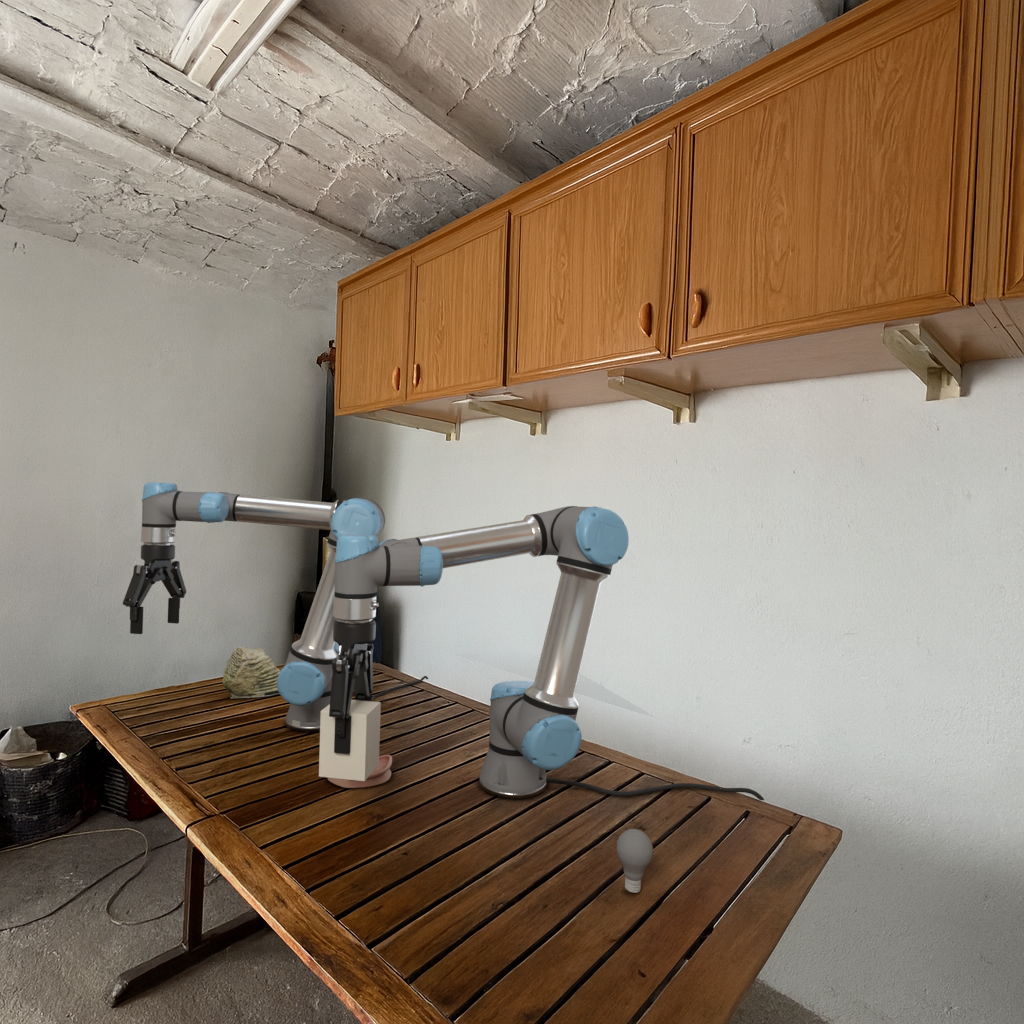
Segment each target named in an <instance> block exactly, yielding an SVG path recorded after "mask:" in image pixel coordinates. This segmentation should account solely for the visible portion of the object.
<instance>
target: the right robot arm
mask: <svg viewBox="0 0 1024 1024" xmlns="http://www.w3.org/2000/svg"><path fill="white" fill-rule="evenodd" d="M629 541H630V536H629V531H628V527H627V525H626V524H625V522H624V520H623V518H622V517H621V516H620V515H619V514H618V513H616V512H615V511H613V510H611V509H608V508H604V507H601V506H599V507H598V506H577V505H568V506H563V507H558V508H554V509H551V510H546V511H542V512H537V513H532V514H527V515H525V517H524V518H523V519H522V520H516V521H510V522H504V523H499V524H498V523H496V524H492V525H484V526H479V527H471V528H466V529H459V530H453V531H447V532H440V533H433V534H426V535H422V536H416V537H409V538H402V539H398V538H397V539H396V538H391V539H386V540H383V541H382V542H380V541H379V536H378V537H377V536H375V535H363V534H346V535H342V536H340V537H339V538H338V540H337V547H336V558H335V596H334V612H333V616H334V618H335V619H337V620H335V622H334V623H333V640H334V641H335V642H336V643H338V644H339V645H340V646H341V647H340V650H339V659H333V661H332V673H333V674H332V686H331V698H330V710H329V716H330V717H335V738H334V753H341V754H349V753H350V747H351V716H349V712H350V706H351V700H353V693H354V700H361V701H374V698H373V696H374V695H373V693H374V672H373V671H374V668H373V666H374V664H373V661H374V659H373V656H374V644H373V642H374V641H375V640H376V635H377V633H376V631H377V629H376V628H377V621H375V618H376V617H377V608H378V607H380V606H379V602H377V596H378V587H425V586H435V585H438V584H439V583H440V581H441V579H442V576H443V572H444V569H448V568H455V567H460V566H464V565H465V566H466V565H471V564H477V563H483V562H489V561H494V560H498V559H499V560H500V559H504V558H505V559H506V558H511V557H516V556H523V555H529V556H531V557H533V558H536V557H541V556H555V557H557V558H556V561H555V562H556V563H555V564H556V566H557V568H558V569H559V571H560V576H559V580H558V585H557V588H556V592H555V596H554V599H553V600H554V601H553V603H552V608H551V612H550V617H549V619H548V620H549V621H548V625H547V629H546V633H545V637H544V641H543V645H542V649H541V654H540V658H539V660H538V661H539V662H538V666H537V670H536V674H535V678H534V681H532V680H531V681H529V680H507V681H501V682H498V683H495V684H493V686H492V688H491V692H490V693H491V694H490V698H489V701H490V707H489V708H490V710H489V733H488V734H489V735H488V738H489V739H488V750H487V753H486V755H485V758H484V761H483V763H482V767H481V769H480V772H479V779H478V780H479V782H478V783H479V786H480V788H481V789H482V790H483V792H486V793H487V794H490V795H492V796H495V797H498V798H503V799H508V800H509V799H511V800H524V799H530V798H534V797H536V796H539V795H540V794H541V795H542V793H544V792H545V790H546V789H547V783H549V784H556V785H564V786H570V787H577V788H583V789H588V790H592V791H595V792H597V793H601V794H604V795H610V796H616V797H634V796H638V795H639V796H640V795H644V794H648V793H654V792H655V793H657V792H661V791H667V790H671V789H672V790H673V789H681V788H682V789H684V788H685V789H690V788H691V789H700V790H701V789H702V790H708V791H712V792H713V791H714V792H722V793H744V794H750V795H752V796H753V797H756V799H758V800H759V801H765V799H764V797H763V796H762V795H761V794H760V793H759V792H758V791H756V790H754V789H751V788H749V787H748V788H747V787H723V786H715V785H708V784H702V783H693V782H691V783H690V782H679V783H670V784H669V783H668V784H663V785H659V786H651V787H646V788H641V789H636V790H627V791H620V790H612V789H607V788H605V787H600V786H596V785H593V784H589V783H584V782H579V781H573V780H567V779H559V778H552V777H547V773H546V771H556V770H559V769H561V768H563V767H565V766H566V765H567V764H569V763H570V762H571V761H573V759H574V758H575V757H576V755H577V754H578V752H579V750H580V748H581V744H582V736H583V735H582V731H581V729H580V726H579V724H578V722H577V715H578V712H579V707H580V704H579V702H578V700H577V699H576V697H575V693H576V688H577V683H578V680H579V675H580V670H581V666H582V662H583V659H584V654H585V650H586V646H587V642H588V639H589V634H590V630H591V626H592V622H593V617H594V613H595V608H596V604H597V601H598V596H599V593H600V590H601V589H600V588H601V584H602V583H603V582H604V581H606V580H608V579H609V578H610V577H611V574H612V570H613V566H614V565H616V564H618V562H619V561H621V560H622V559H623V558H624V556H625V555H626V553H627V551H628V547H629V543H630V542H629ZM720 788H721V789H720Z"/></svg>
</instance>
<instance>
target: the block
mask: <svg viewBox="0 0 1024 1024" xmlns="http://www.w3.org/2000/svg"><path fill="white" fill-rule="evenodd" d="M381 706H382V702H381V701H374V700H372V701H361V700H356V699H352V700H351V706H350V712H349V716H351V747H350V753H349V754H341V753H334V738H335V717H330V716H329V710H330V704H329V705H328V706H327V707H325V708H324V709H323V710H321V717H320V731H319V754H318V755H319V757H318V777H321V778H327V779H328V778H338V779H348V780H357V781H365V780H366V779H367V778H368V777H369V775H370V774H371V773H372V772H373V771H374V770H375V768H376V767H377V766H378V765H379V756H380V745H381V744H380V743H381V742H380V741H381V737H380V736H381V713H382V711H381V708H382V707H381Z"/></svg>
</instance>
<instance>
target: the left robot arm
mask: <svg viewBox="0 0 1024 1024" xmlns="http://www.w3.org/2000/svg"><path fill="white" fill-rule="evenodd" d="M141 502H142V503H141V505H142V506H141V530H140V531H141V533H140V542H141V543H143V544H141V546H140V559H141V560H143V565H141V564H135V565H133V570H132V571H133V572H132V577H131V579H130V582H129V585H128V587H127V590H126V592H125V595H124V598H123V600H122V605H123V606H125V607H128V608H129V621H130V623H129V624H130V625H129V634H132V635H143V631H144V630H143V629H144V627H143V626H144V606H142V604H143V603H144V600H145V599H146V597H147V596H148V594H149V592H150V590H151V588H152V586H153V585H155V584H156V583H157V582H160V581H161V582H162V584H163V586H164V587H165V589H166V591H167V592H168V594H169V596H170V597H168V598H167V601H168V602H167V624H179V623H180V609H181V599H184V598H185V596H186V594H187V589H186V585H185V581H184V579H183V575H182V572H181V566H180V565H181V564H180V560H174V559H175V558H176V545H175V544H174V543H175V542H176V527H177V522H193V523H194V522H195V523H199V522H200V523H207V524H211V523H212V524H213V523H223V522H224V521H225V522H234V523H235V522H237V523H238V522H239V523H248V524H249V523H250V524H259V525H260V524H261V525H271V526H282V527H293V528H304V529H315V530H326V531H330V532H329V535H328V538H327V541H326V545H327V547H328V548H329V550H330V551H329V553H328V557H327V560H326V563H325V566H324V568H323V571H322V575H321V578H320V580H319V584H318V586H317V589H316V591H315V595H314V597H313V601H312V603H311V606H310V609H309V613H308V616H307V618H306V622H305V624H304V628H303V630H302V633H301V637H300V639H298V640H296V641H294V642H293V643H292V644H291V646H290V649H289V651H288V655H287V658H286V661H285V664H284V666H283V667H282V668H281V669H280V672H279V675H278V678H277V688H278V692H279V693H280V694H279V695H280V696H281V698H282V699H283V700H284V701H285V702H287V703H288V704H289V708H288V711H287V713H286V715H285V726H286V728H287V729H289V730H291V731H294V732H295V731H296V732H301V733H316V732H320V717H321V710H323V709H324V708H325V707H327V706H328V705H329V704H330V698H331V686H332V674H333V673H332V661H333V659H339V655H340V644H339V643H336V642H335V641H334V640H333V623H334V622H335V620H337V619H335V618H334V616H333V612H334V596H335V558H336V547H337V540H338V538H339V537H340V536H342V535H346V534H363V535H375V536H377V537H378V538H379V536H380V535H381V533H382V532H383V530H384V528H385V526H386V516H385V512H384V510H383V508H382V507H381V505H379V503H378V502H376V501H374V500H371V499H369V498H360V497H354V498H350V499H347V500H346V499H337V500H335V501H334V502H330V501H329V502H327V501H317V500H316V501H315V500H306V499H296V498H295V499H294V498H284V497H273V496H262V495H252V494H238V493H231V492H227V491H218V492H215V491H183V490H182V491H181V490H179V489H178V485H177V484H176V483H175V482H154V481H151V482H150V481H148V482H146V483H145V484H144V485H143V490H142V498H141ZM424 680H429V677H428V676H427V675H424V676H422V677H421V678H420V679H418V680H415V681H412V682H408V683H404V684H401V685H398V686H397V685H396V686H394V687H390V688H388V689H385V690H383V691H380V692H377V693H376V694H374V695H372V696H373V699H375V698H377V697H380V696H383V695H384V694H387V693H390V692H392V691H395V690H398V689H402V688H404V687H408V686H412V685H416V684H419V683H422V681H424Z"/></svg>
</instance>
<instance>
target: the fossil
mask: <svg viewBox="0 0 1024 1024" xmlns="http://www.w3.org/2000/svg"><path fill="white" fill-rule="evenodd" d="M280 671H281V669H279V668H278V667H277V665H276V663H275V662H274V660H273V659H272V658H271V657H270V656H269V655H268V654H267V653H266V652H265V650H264V649H263V648H260V647H258V648H251V647H247V646H246V647H245V646H238V647H237V648H236V649H235V650H233V651H232V653H231V656H230V657H229V659H228V660H227V663H226V666H225V668H224V671H223V675H222V676H223V677H222V685H223V687H224V688H225V690H226V691H228V693H229V698H230V699H250V698H264V697H271V696H275V695H280V693H279V692H278V688H277V678H278V675H279V672H280Z"/></svg>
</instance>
